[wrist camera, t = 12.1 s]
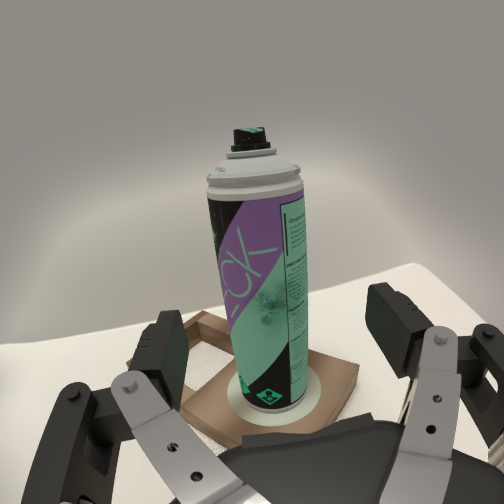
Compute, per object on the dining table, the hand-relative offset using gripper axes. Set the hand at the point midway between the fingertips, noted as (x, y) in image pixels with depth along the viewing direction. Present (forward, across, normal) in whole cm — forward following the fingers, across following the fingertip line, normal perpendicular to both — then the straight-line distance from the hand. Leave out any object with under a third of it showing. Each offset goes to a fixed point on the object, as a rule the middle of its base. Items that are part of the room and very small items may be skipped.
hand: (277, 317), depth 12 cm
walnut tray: (+10, +4, +16) cm, 19 cm away
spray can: (+7, 0, +13) cm, 14 cm away
